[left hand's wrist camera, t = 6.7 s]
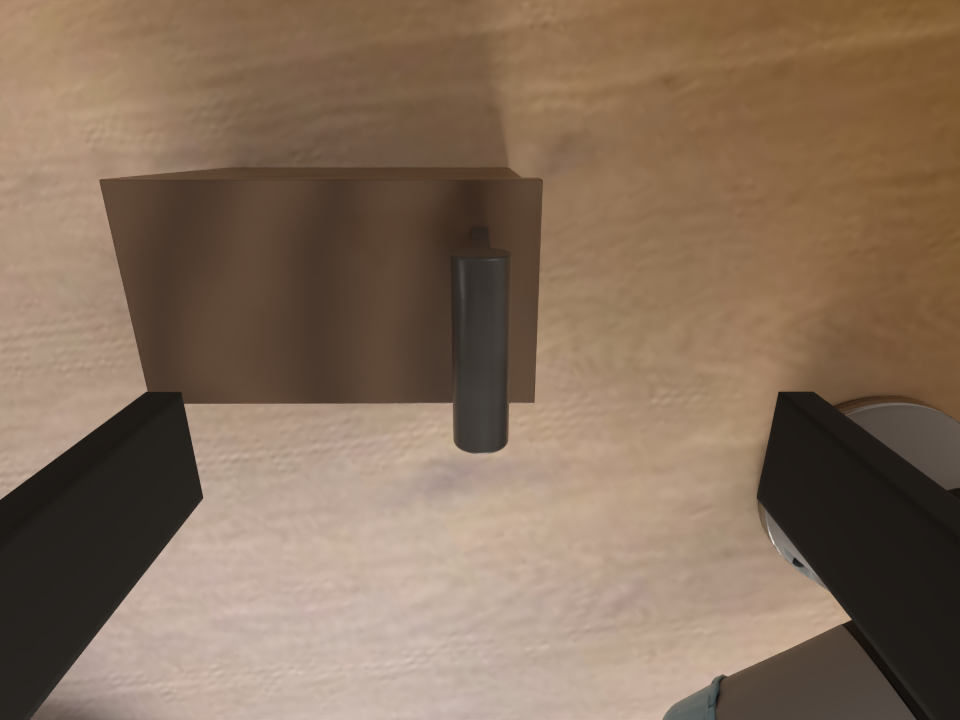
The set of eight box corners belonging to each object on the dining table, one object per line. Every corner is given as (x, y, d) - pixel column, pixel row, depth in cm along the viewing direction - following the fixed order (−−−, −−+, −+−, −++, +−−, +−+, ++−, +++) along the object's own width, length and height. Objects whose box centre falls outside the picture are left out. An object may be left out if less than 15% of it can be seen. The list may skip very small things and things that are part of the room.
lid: (539, 177, 24) (572, 195, 16) (532, 392, 28) (554, 500, 19) (117, 177, 24) (-76, 195, 16) (164, 392, 27) (27, 500, 19)
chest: (509, 167, 34) (522, 177, 24) (506, 324, 38) (517, 392, 28) (227, 167, 34) (118, 177, 24) (251, 324, 38) (165, 392, 28)
